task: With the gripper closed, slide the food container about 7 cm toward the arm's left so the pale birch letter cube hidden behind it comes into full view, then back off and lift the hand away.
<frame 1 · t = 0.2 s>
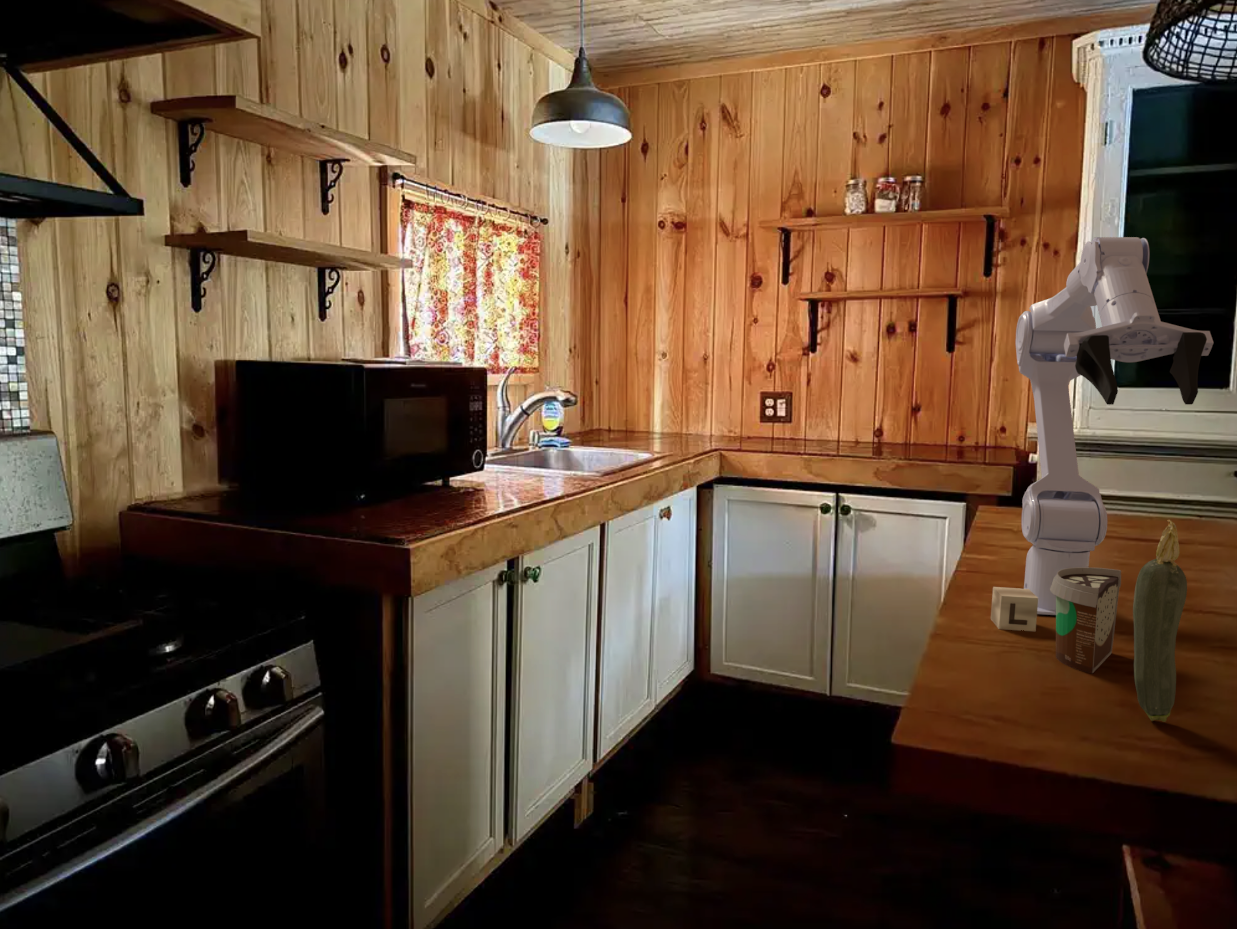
hand: (1151, 398, 99), 31 cm above the countertop, tool tilted 45°, fingers open, 7 cm apart
letter cube: (1012, 625, 123), on the countertop
food container: (1073, 658, 111), on the countertop
vegetable: (1147, 723, 92), on the countertop
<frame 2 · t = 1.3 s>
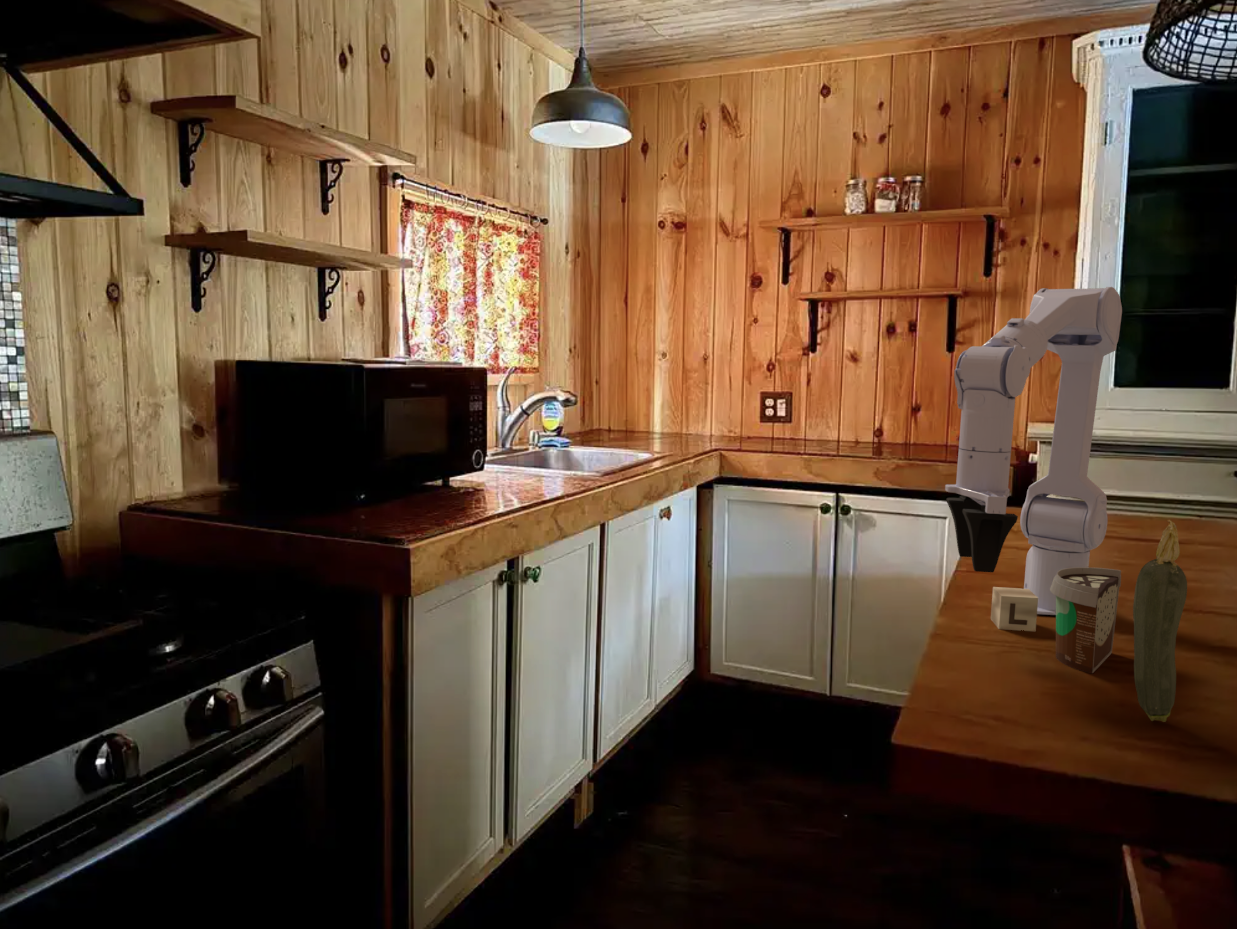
hand: (975, 563, 111), 11 cm above the countertop, tool pointing down, fingers open, 7 cm apart
nothing on the countertop moved.
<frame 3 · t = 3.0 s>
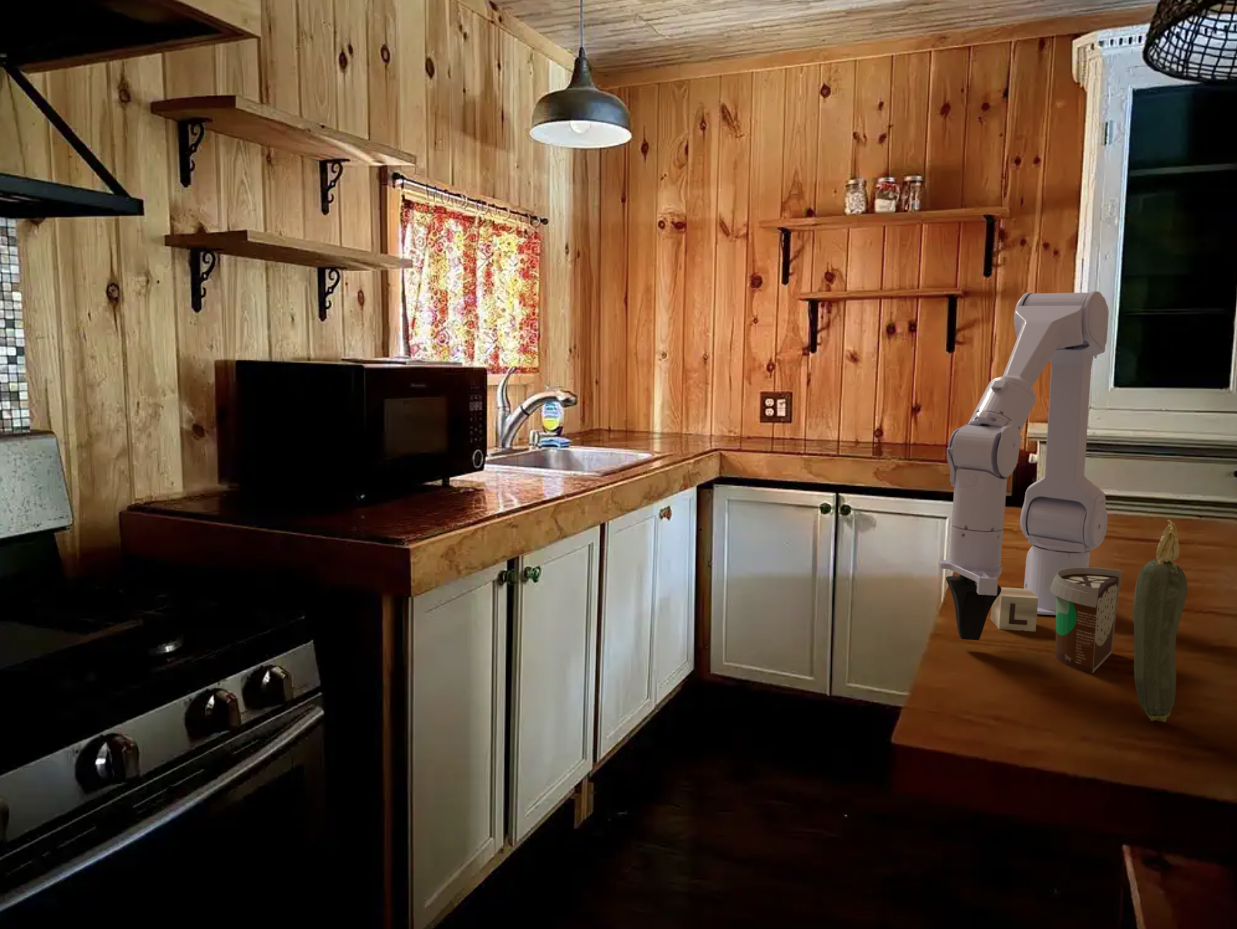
hand: (969, 638, 113), 1 cm above the countertop, tool pointing down, fingers closed
nothing on the countertop moved.
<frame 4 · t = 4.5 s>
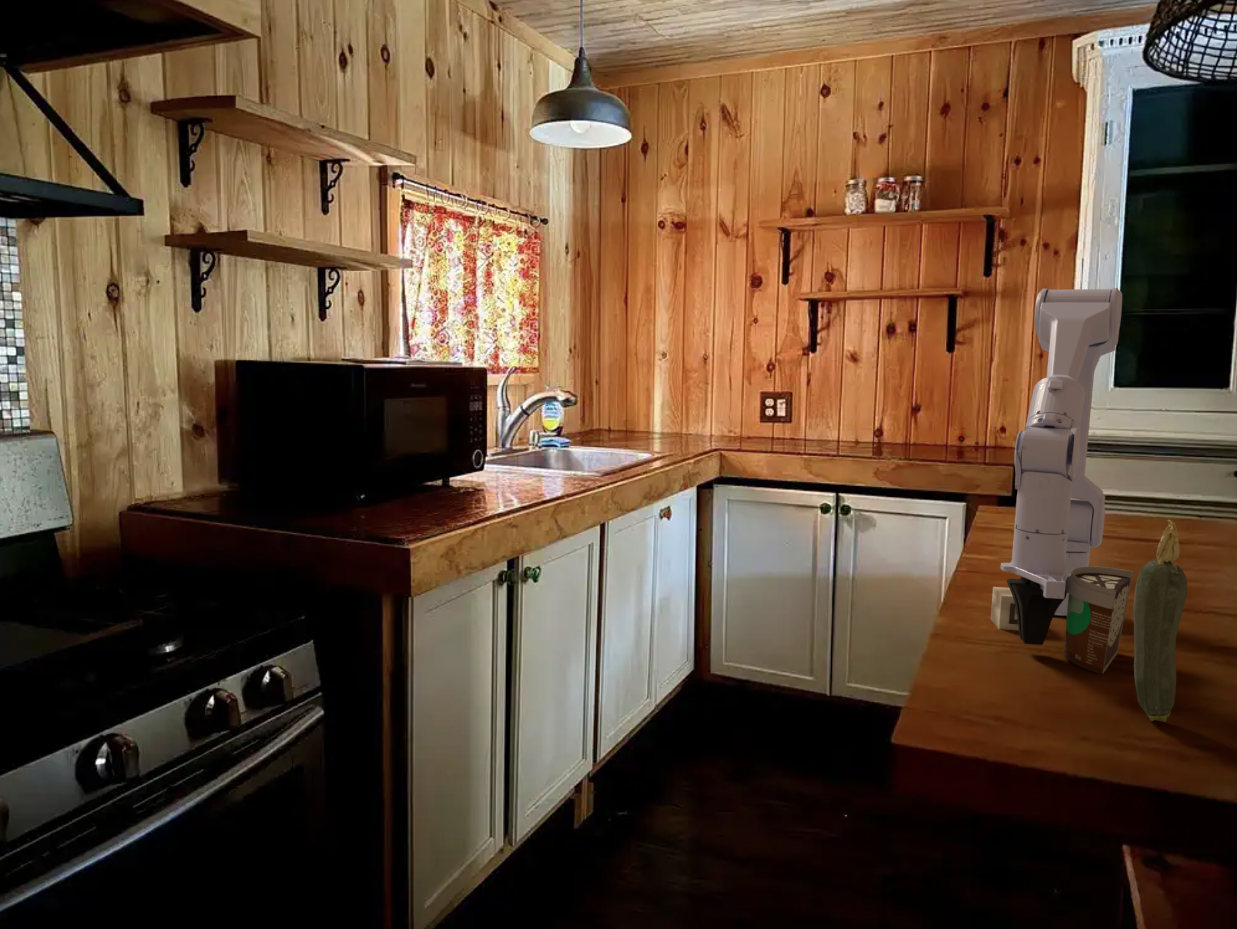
hand: (1031, 642, 111), 1 cm above the countertop, tool pointing down, fingers closed
food container: (1081, 657, 111), on the countertop, touching gripper
everything else where it was.
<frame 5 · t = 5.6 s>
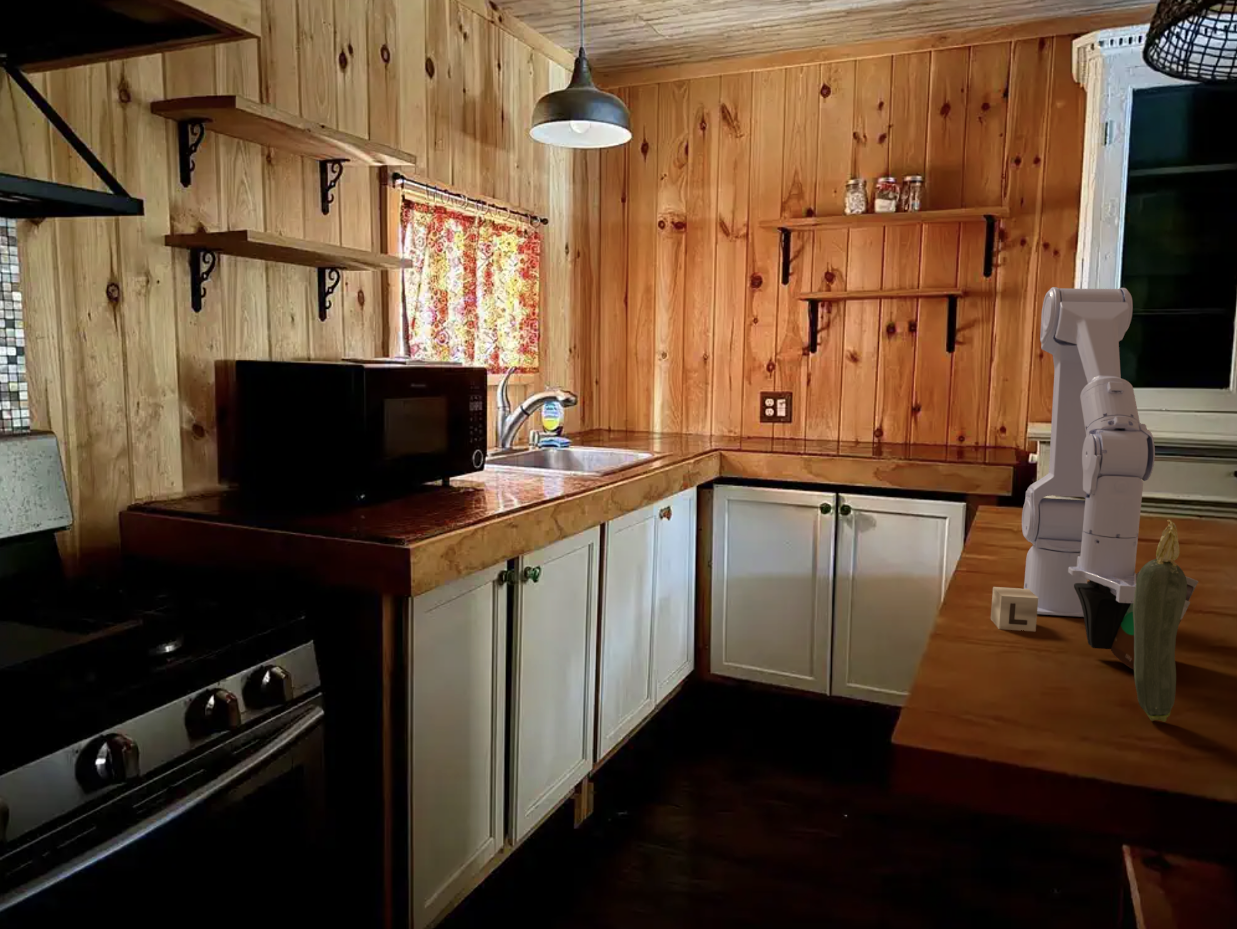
hand: (1099, 646, 110), 1 cm above the countertop, tool pointing down, fingers closed
food container: (1127, 655, 109), point 1 cm above the countertop, touching gripper
everything else where it was.
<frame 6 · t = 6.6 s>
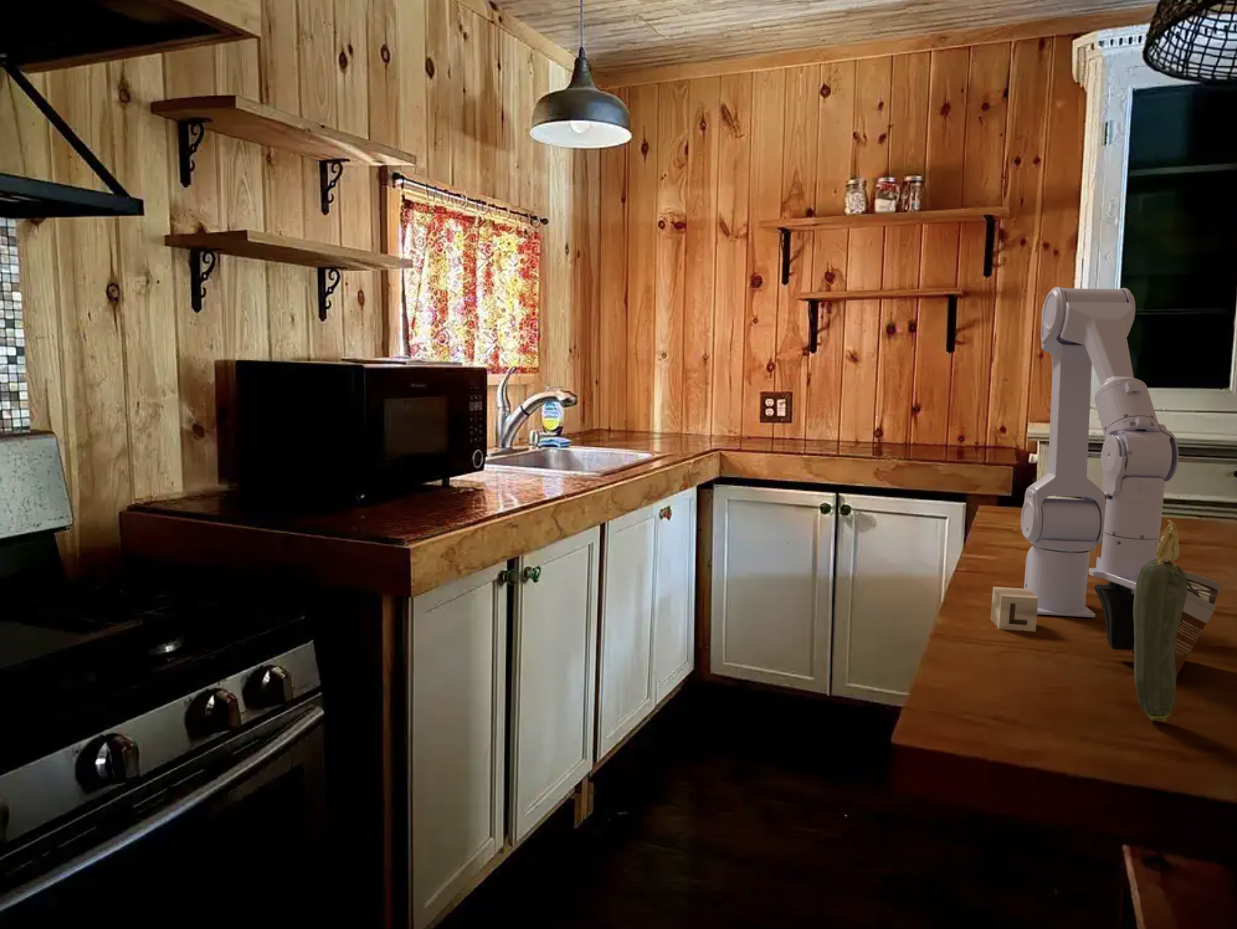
hand: (1120, 648, 110), 1 cm above the countertop, tool pointing down, fingers closed
food container: (1148, 657, 109), point 1 cm above the countertop, touching gripper
everything else where it was.
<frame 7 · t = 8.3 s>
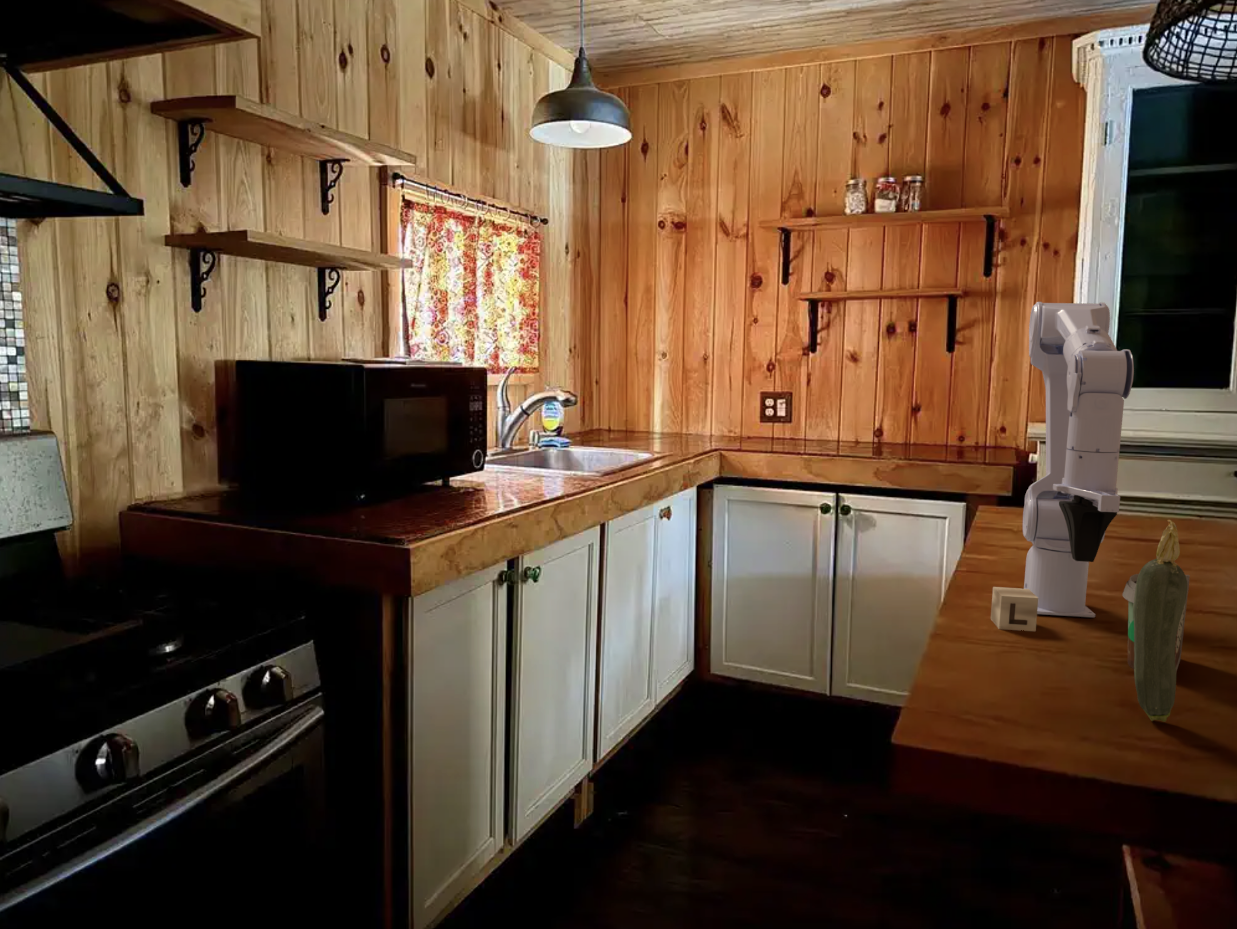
hand: (1083, 560, 115), 10 cm above the countertop, tool pointing down, fingers closed
food container: (1146, 666, 109), on the countertop
everything else where it was.
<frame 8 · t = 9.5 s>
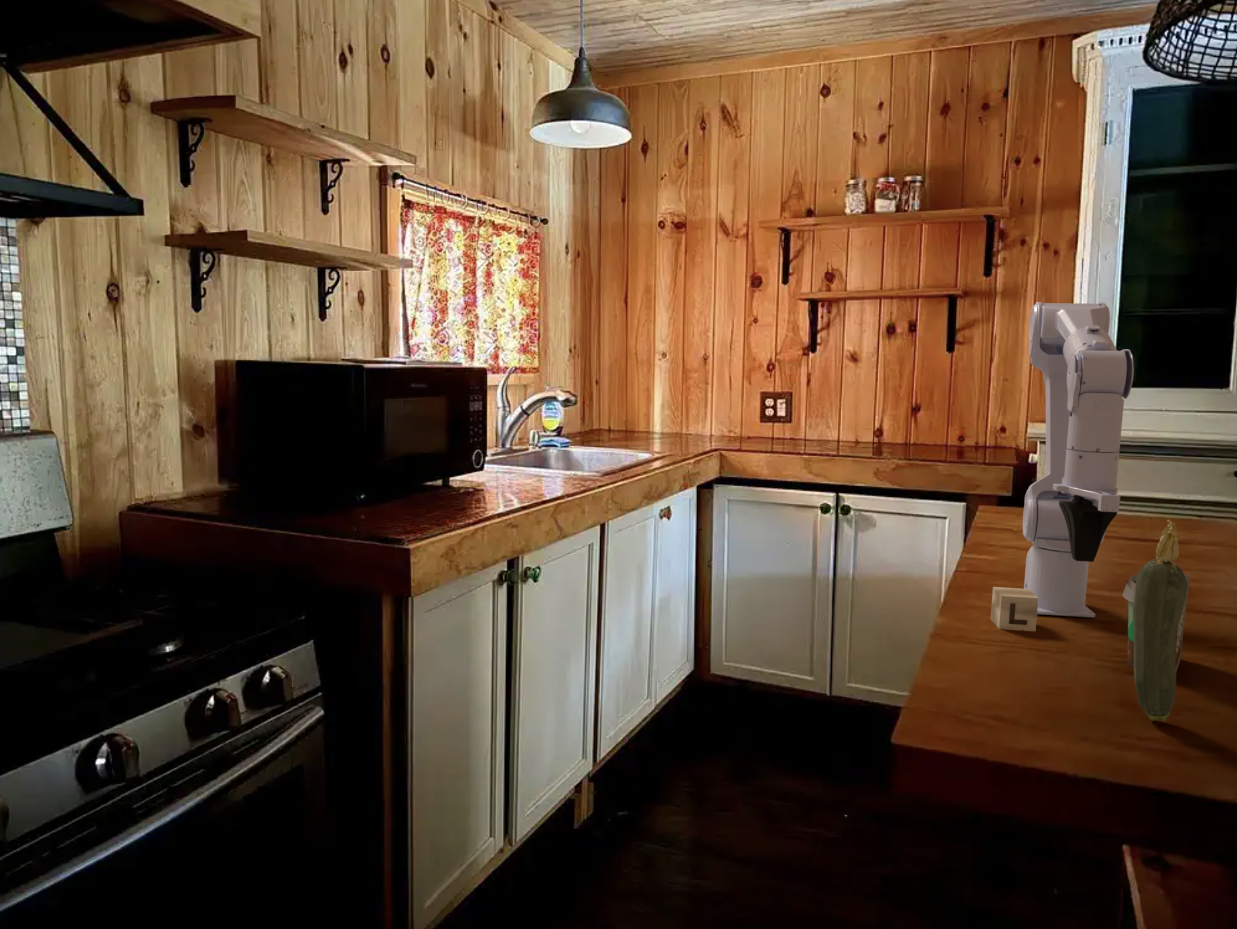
hand: (1083, 560, 115), 10 cm above the countertop, tool pointing down, fingers closed
nothing on the countertop moved.
at the end: food container inside the target area (1.2 cm from its centre), on the countertop; food container tilted 0°; letter cube moved 0.1 cm from its start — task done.
